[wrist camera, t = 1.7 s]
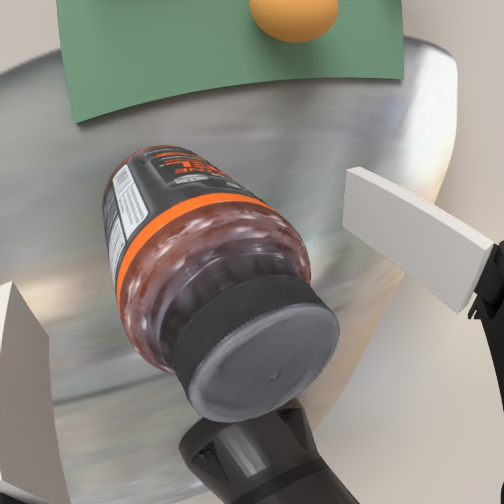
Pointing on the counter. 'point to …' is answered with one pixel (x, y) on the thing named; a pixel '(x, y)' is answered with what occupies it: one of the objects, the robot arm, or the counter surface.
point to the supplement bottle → (213, 285)
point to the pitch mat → (210, 49)
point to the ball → (294, 18)
